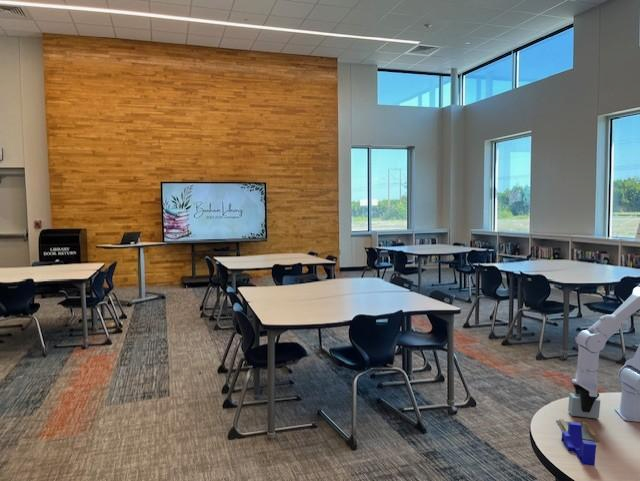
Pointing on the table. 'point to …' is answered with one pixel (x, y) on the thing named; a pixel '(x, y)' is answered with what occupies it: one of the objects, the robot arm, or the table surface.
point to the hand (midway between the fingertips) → (583, 408)
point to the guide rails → (583, 425)
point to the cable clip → (579, 444)
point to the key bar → (576, 408)
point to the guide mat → (584, 432)
